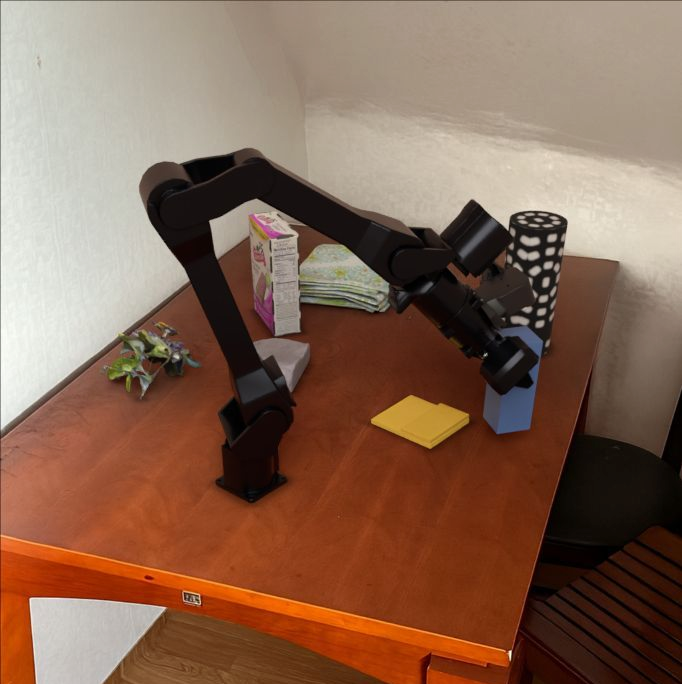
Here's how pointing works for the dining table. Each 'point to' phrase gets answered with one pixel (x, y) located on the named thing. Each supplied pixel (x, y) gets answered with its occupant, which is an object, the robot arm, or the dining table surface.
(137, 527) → the dining table surface
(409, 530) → the dining table surface
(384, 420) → the cloth
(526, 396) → the block
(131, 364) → the passion flower
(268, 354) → the stone block
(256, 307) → the candy bar box
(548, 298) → the spotted tube
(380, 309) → the towel
